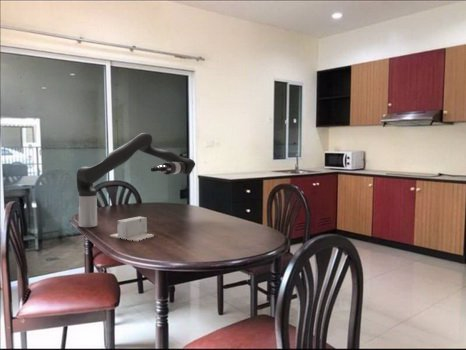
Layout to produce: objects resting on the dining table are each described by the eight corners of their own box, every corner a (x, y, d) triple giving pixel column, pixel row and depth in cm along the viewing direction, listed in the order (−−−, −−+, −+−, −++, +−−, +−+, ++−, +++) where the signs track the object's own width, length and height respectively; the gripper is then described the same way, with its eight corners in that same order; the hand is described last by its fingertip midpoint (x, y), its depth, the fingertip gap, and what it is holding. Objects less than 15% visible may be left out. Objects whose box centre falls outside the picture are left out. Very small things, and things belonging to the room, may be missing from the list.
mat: (110, 236, 188) (110, 235, 188) (127, 231, 199) (127, 230, 199) (137, 241, 179) (137, 239, 179) (154, 236, 190) (154, 234, 190)
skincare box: (147, 232, 194) (125, 239, 182) (138, 231, 197) (117, 237, 185) (147, 216, 194) (125, 222, 181) (138, 215, 197) (116, 220, 184)
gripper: (162, 161, 229) (142, 162, 214) (180, 162, 223) (161, 163, 208) (162, 173, 230) (143, 175, 215) (180, 174, 223) (161, 176, 208)
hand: (152, 169), depth 211 cm, fingers closed
